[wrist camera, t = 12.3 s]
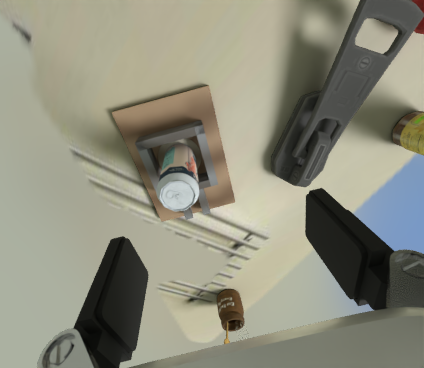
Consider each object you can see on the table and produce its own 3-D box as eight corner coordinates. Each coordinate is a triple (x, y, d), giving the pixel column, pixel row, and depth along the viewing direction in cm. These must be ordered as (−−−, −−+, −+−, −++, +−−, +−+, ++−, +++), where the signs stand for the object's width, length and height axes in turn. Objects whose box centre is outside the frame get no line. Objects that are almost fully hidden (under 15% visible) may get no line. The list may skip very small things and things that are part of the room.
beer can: (191, 173, 35) (194, 217, 25) (162, 167, 34) (152, 211, 23) (198, 146, 33) (204, 181, 22) (167, 139, 32) (159, 172, 21)
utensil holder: (244, 294, 54) (258, 348, 43) (226, 306, 55) (235, 362, 45) (229, 284, 51) (240, 340, 41) (210, 298, 53) (216, 354, 42)
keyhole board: (113, 111, 30) (104, 116, 27) (208, 85, 30) (211, 87, 27) (162, 218, 40) (160, 232, 36) (234, 199, 40) (238, 211, 36)
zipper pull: (435, 7, 23) (329, 199, 34) (385, 20, 29) (308, 181, 40) (368, -20, 21) (278, 192, 32) (329, -1, 27) (264, 173, 38)
